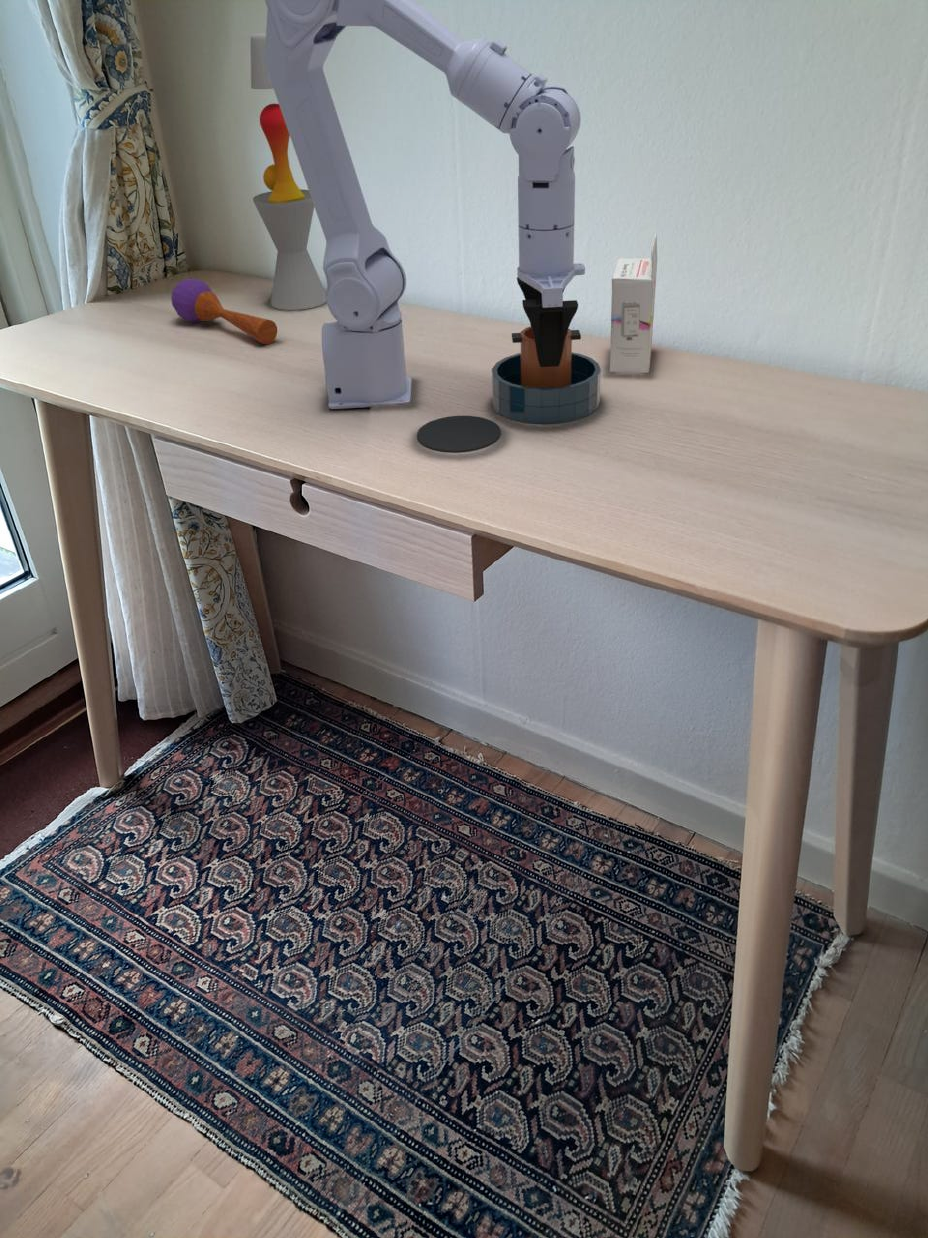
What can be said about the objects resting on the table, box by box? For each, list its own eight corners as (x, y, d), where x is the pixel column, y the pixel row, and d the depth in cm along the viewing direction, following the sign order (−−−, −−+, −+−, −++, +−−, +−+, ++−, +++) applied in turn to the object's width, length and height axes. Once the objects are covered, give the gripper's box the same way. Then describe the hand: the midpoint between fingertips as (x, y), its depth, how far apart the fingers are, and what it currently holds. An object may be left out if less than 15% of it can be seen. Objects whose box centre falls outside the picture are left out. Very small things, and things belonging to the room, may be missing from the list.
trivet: (416, 459, 102) (416, 452, 102) (418, 424, 110) (417, 417, 109) (503, 455, 102) (502, 448, 102) (498, 420, 109) (498, 413, 109)
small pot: (514, 413, 109) (513, 342, 105) (511, 394, 114) (510, 326, 109) (581, 410, 109) (582, 339, 105) (575, 391, 114) (577, 322, 109)
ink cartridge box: (612, 351, 125) (617, 231, 117) (651, 352, 125) (659, 231, 116) (607, 376, 119) (611, 250, 110) (648, 377, 118) (656, 250, 109)
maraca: (244, 322, 129) (157, 284, 140) (256, 361, 133) (171, 322, 144) (278, 302, 132) (191, 267, 142) (289, 341, 136) (203, 304, 147)
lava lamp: (341, 298, 149) (310, 30, 129) (294, 314, 144) (254, 37, 124) (303, 288, 154) (268, 29, 134) (257, 303, 149) (213, 35, 129)
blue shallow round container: (495, 431, 107) (494, 392, 104) (490, 389, 117) (489, 352, 114) (605, 426, 107) (607, 386, 104) (591, 384, 117) (592, 347, 114)
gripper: (594, 239, 94) (590, 375, 102) (577, 205, 106) (575, 329, 114) (521, 243, 95) (523, 378, 102) (512, 208, 106) (514, 332, 114)
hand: (546, 353), depth 108 cm, fingers open, 7 cm apart
